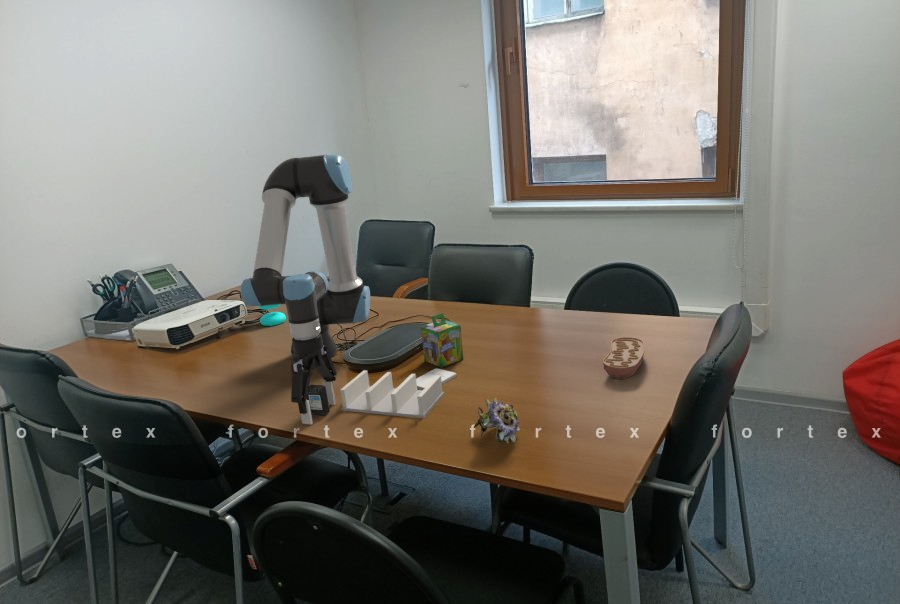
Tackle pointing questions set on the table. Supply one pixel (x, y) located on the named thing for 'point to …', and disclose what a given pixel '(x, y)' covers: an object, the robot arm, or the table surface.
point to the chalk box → (442, 342)
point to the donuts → (272, 316)
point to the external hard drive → (429, 376)
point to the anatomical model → (624, 357)
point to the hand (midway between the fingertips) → (319, 413)
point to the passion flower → (499, 420)
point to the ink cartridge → (318, 400)
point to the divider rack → (391, 396)
